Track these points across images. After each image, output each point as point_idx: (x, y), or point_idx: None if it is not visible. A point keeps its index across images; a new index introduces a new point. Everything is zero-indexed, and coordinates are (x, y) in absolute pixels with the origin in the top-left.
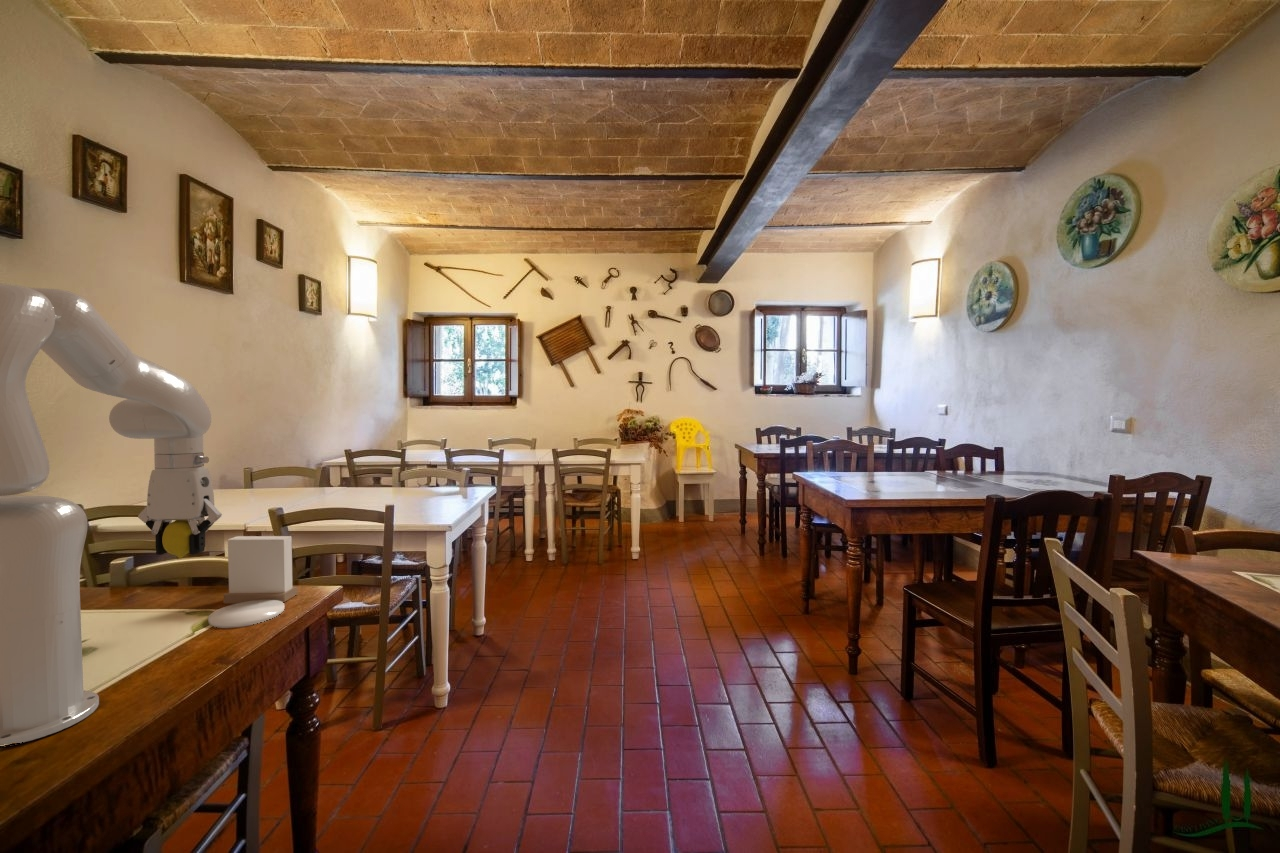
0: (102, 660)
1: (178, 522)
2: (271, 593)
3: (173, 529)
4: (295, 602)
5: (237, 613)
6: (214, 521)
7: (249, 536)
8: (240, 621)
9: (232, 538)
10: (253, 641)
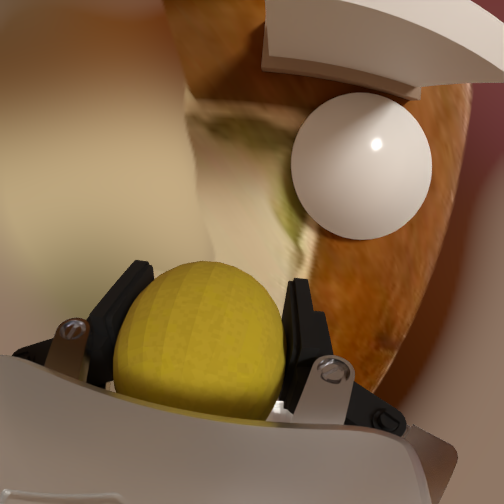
0: None
1: None
2: (388, 84)
3: None
4: (428, 103)
5: (353, 184)
6: (411, 434)
7: None
8: (377, 234)
9: None
10: (409, 294)
